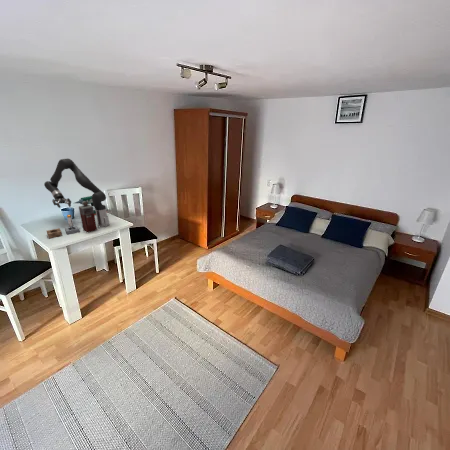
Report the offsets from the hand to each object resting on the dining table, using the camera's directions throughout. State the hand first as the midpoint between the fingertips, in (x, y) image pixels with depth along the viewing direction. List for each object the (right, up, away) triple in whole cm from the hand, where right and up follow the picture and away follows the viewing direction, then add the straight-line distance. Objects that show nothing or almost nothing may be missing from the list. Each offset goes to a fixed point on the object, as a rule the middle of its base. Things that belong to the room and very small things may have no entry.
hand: (65, 206), depth 226 cm
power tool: (+2, -6, +41) cm, 42 cm away
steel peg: (+8, -23, -2) cm, 25 cm away
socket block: (+8, -23, -2) cm, 25 cm away
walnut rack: (-2, -26, -11) cm, 28 cm away
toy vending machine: (+23, -22, +1) cm, 32 cm away
